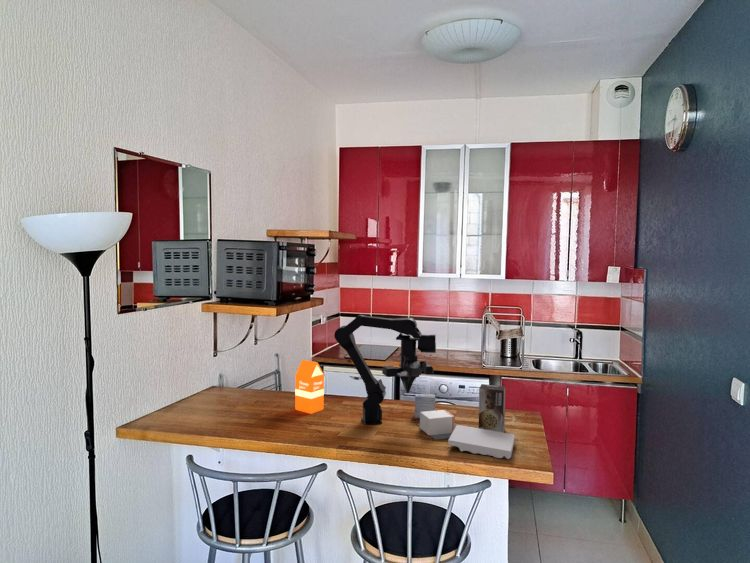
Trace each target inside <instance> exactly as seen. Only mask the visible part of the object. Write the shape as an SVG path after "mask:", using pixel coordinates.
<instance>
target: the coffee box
mask: <svg viewBox="0 0 750 563" xmlns="http://www.w3.org/2000/svg"><path fill="white" fill-rule="evenodd" d="M480 384H481V385H480V386H479V388H478V427H477V428H479V429H485V430H491V431H497V432H503V433H505V425H506V424H505V421H506V420H505V417H506V416H505V415H506V414H505V413H506V412H505V411H506V386H505V385H496V384H485V383H480Z"/></svg>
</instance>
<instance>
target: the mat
mask: <svg viewBox="0 0 750 563" xmlns="http://www.w3.org/2000/svg"><path fill="white" fill-rule="evenodd" d="M457 425H458V424H456V423H455V426H454V429H455V427H456V426H457ZM416 426H418V427H419V428H420V423H417V425H416ZM451 434H452V433H447V434H438V435H429V436H430V437H431V438H432V439H433V440H435V441H440V440H449V438H450V436H451Z"/></svg>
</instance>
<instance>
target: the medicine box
mask: <svg viewBox="0 0 750 563" xmlns="http://www.w3.org/2000/svg"><path fill="white" fill-rule="evenodd" d="M425 411H436V395H435V394H429V393H415V395H414V418H415V419H420V412H425Z"/></svg>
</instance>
